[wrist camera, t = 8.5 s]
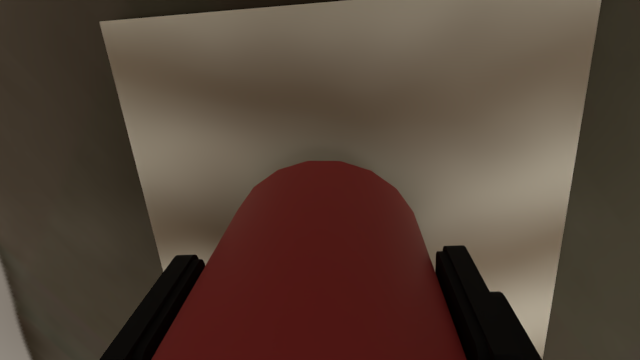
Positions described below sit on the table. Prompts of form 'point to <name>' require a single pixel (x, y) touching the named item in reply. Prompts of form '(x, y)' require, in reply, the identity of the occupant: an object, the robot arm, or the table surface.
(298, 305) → the beer can
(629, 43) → the table surface
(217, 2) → the table surface
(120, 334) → the robot arm
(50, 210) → the table surface
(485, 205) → the birch board
